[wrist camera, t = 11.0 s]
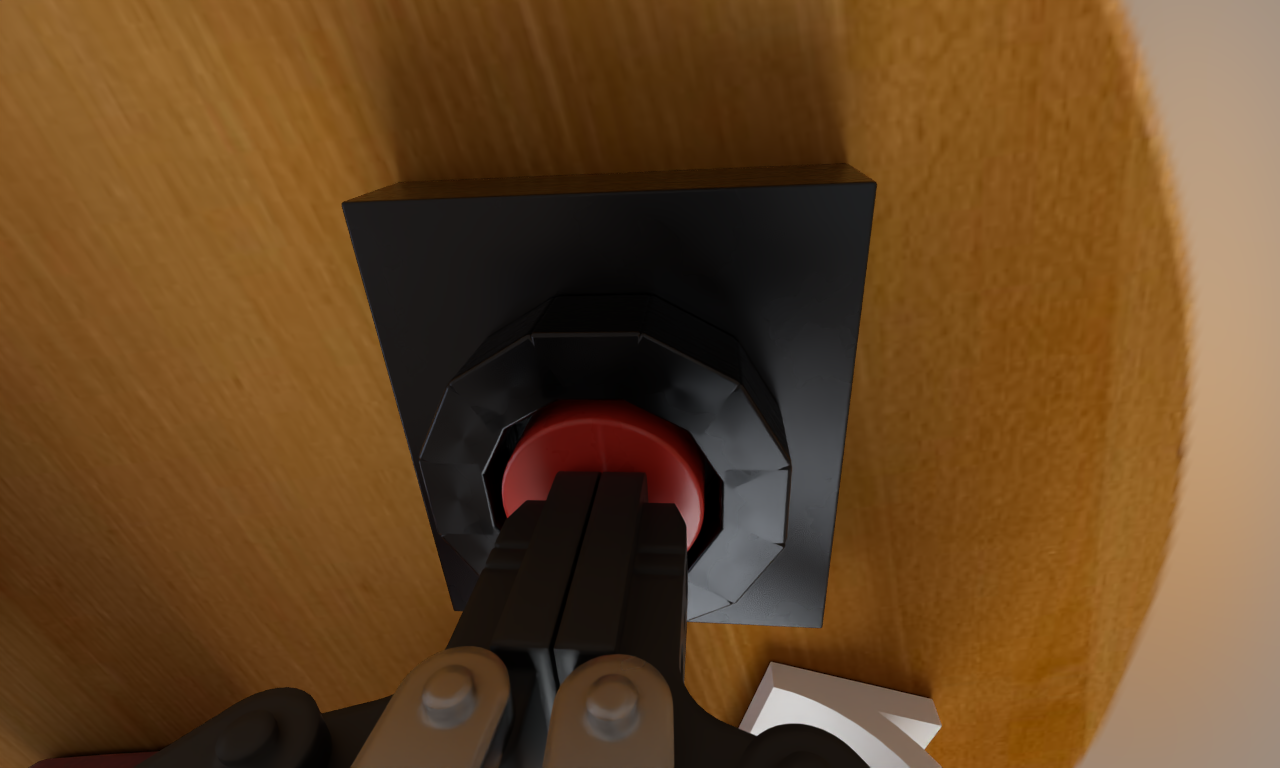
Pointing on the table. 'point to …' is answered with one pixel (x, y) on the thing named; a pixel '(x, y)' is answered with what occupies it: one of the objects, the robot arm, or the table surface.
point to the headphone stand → (848, 715)
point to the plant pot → (96, 761)
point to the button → (607, 455)
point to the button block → (633, 348)
